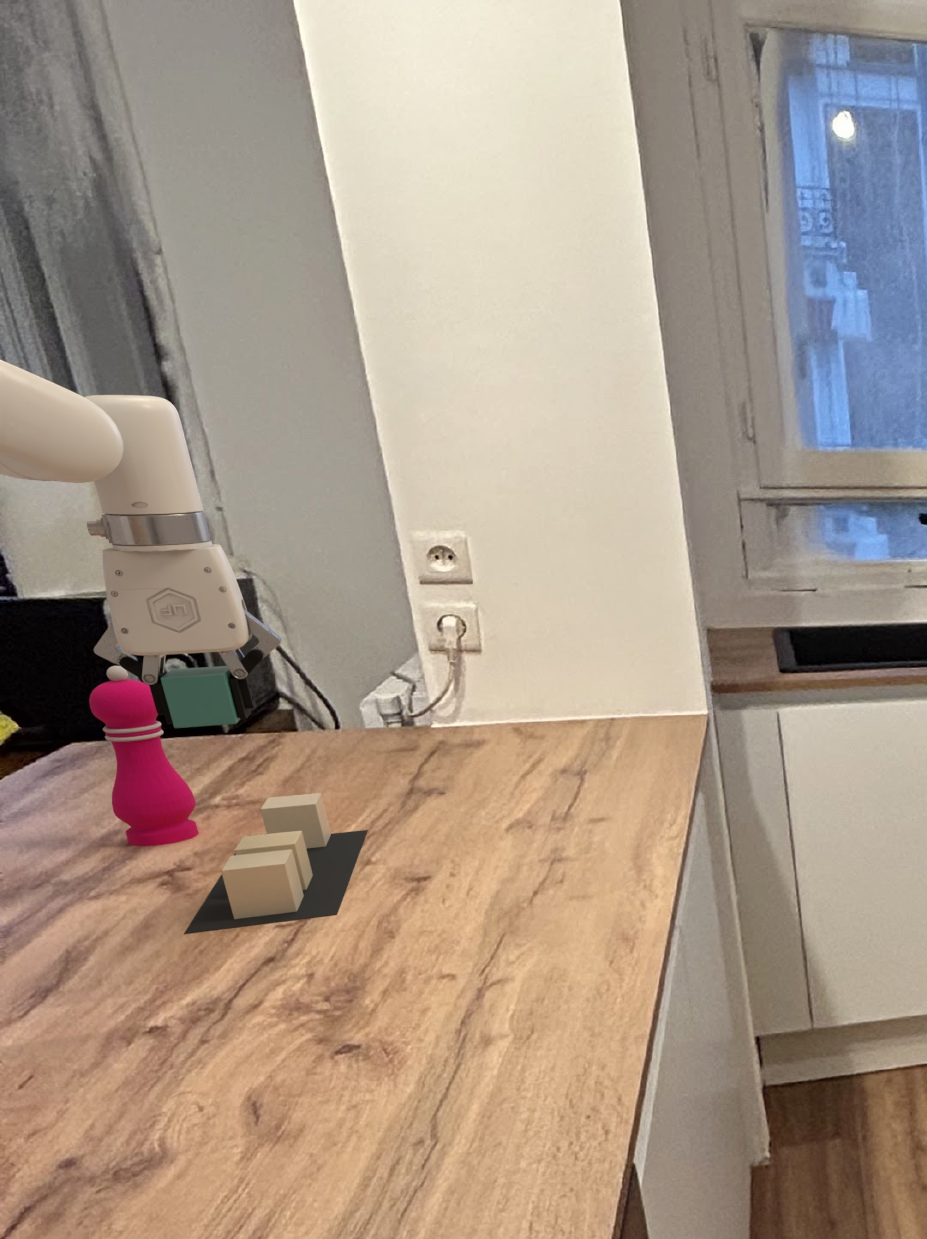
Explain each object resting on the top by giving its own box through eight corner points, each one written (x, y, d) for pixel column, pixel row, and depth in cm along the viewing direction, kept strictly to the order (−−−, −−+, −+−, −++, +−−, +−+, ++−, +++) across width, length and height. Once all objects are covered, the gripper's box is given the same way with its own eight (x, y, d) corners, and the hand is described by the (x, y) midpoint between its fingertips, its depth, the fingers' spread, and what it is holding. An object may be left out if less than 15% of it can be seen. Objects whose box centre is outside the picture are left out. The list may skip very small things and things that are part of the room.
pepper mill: (166, 830, 158) (117, 658, 151) (221, 833, 157) (174, 661, 150) (106, 849, 151) (52, 670, 144) (164, 852, 150) (112, 673, 143)
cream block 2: (246, 897, 136) (234, 850, 134) (254, 882, 140) (242, 836, 138) (306, 890, 138) (295, 843, 137) (313, 875, 142) (301, 830, 141)
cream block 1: (271, 852, 149) (260, 808, 147) (278, 840, 153) (267, 797, 152) (325, 846, 151) (315, 803, 150) (331, 834, 156) (321, 792, 154)
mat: (184, 938, 127) (183, 933, 127) (242, 847, 152) (241, 842, 152) (338, 919, 132) (336, 914, 132) (368, 833, 158) (367, 829, 158)
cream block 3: (234, 919, 130) (220, 870, 128) (243, 903, 134) (230, 855, 133) (297, 911, 132) (284, 863, 131) (304, 896, 137) (292, 849, 135)
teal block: (174, 728, 133) (160, 677, 131) (184, 718, 137) (171, 669, 135) (236, 723, 135) (223, 674, 133) (245, 713, 139) (232, 665, 137)
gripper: (32, 538, 123) (92, 734, 129) (262, 533, 130) (307, 718, 137) (56, 531, 129) (112, 719, 135) (274, 526, 136) (316, 704, 143)
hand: (209, 716), depth 136 cm, fingers closed on teal block, 5 cm apart
